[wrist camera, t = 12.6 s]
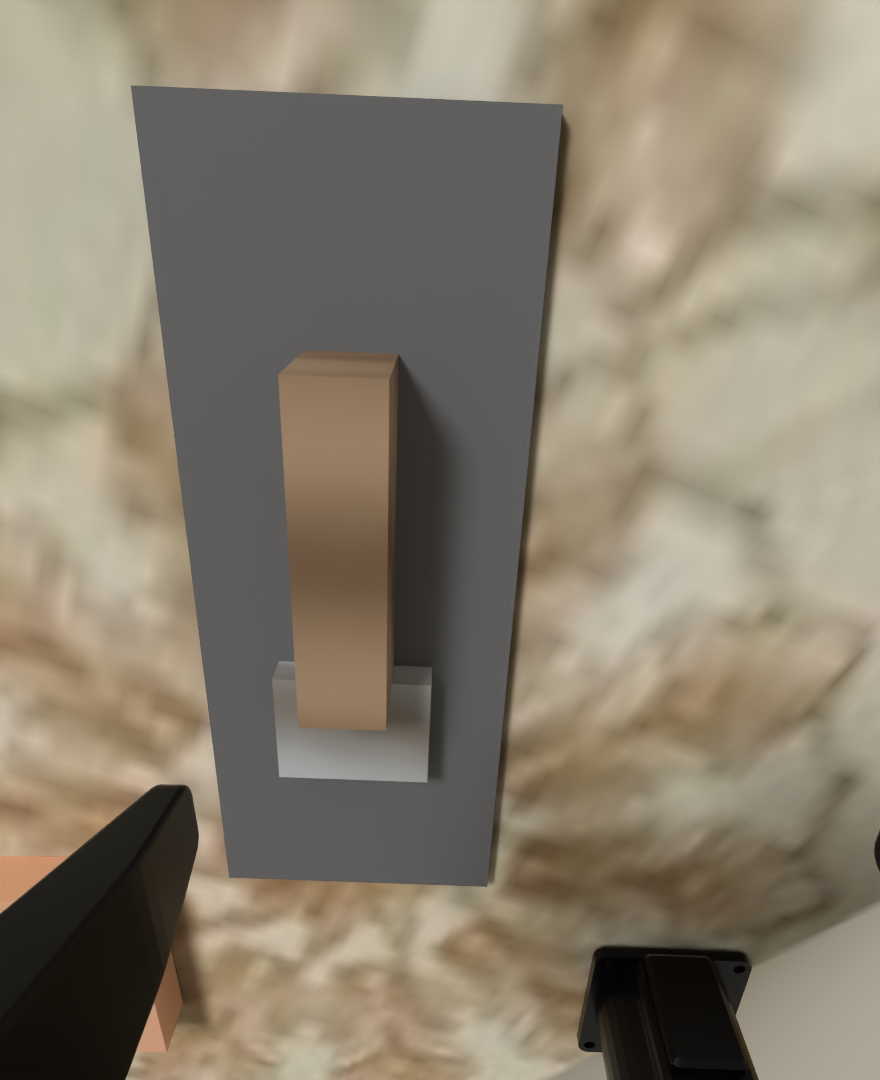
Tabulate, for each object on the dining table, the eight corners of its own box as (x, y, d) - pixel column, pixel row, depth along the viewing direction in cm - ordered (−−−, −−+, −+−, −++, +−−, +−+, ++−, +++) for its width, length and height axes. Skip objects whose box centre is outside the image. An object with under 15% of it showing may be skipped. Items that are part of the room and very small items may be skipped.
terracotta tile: (153, 852, 28) (185, 997, 31) (-48, 848, 28) (8, 993, 31) (129, 903, 26) (166, 1052, 29) (-88, 899, 26) (-23, 1048, 29)
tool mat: (486, 875, 28) (487, 886, 27) (232, 866, 27) (229, 877, 27) (559, 107, 17) (562, 104, 16) (139, 89, 17) (130, 85, 16)
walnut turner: (428, 761, 24) (425, 834, 22) (285, 756, 24) (263, 828, 22) (445, 355, 19) (444, 381, 16) (257, 348, 19) (222, 372, 16)
